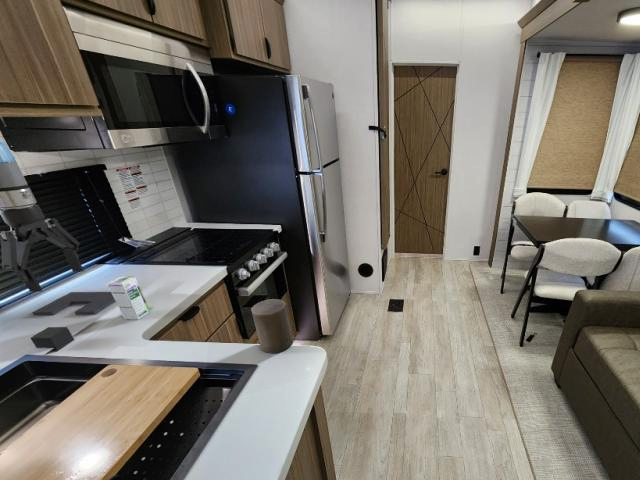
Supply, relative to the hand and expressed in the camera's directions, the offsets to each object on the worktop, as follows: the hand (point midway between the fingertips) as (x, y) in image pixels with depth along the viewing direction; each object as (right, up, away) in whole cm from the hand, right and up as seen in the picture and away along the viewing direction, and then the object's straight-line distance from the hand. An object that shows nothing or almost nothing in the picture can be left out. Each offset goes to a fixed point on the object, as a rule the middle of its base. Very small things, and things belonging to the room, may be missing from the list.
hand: (58, 280), depth 96 cm
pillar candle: (+61, -20, +8) cm, 64 cm away
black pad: (-9, -20, +8) cm, 24 cm away
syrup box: (+3, -11, +24) cm, 27 cm away
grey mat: (-22, -8, +30) cm, 38 cm away
